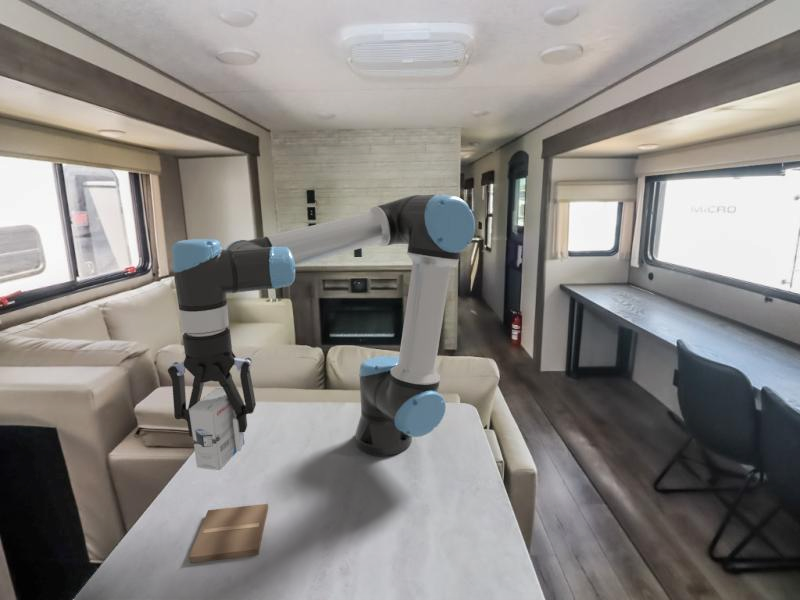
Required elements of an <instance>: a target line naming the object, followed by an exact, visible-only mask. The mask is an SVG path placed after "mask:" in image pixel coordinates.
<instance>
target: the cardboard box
mask: <svg viewBox="0 0 800 600" xmlns="http://www.w3.org/2000/svg"><path fill="white" fill-rule="evenodd" d="M268 511H269V504H268V503H261V504H252V505H251V504H250V505H246V506H245V505H244V506H235V507H225V508H216V509H208V510H207V512H206V515H205V516H204V519H203V521H202V524H201V527H200V529H199V530H198V533H197V536H196V539H195V541H194V543H193V546H192V548H191V551H190V554H189V556H188V561H189V563H190V564H192V563H198V562H199V563H201V562H209V561H216V560H223V559H232V558H241V557H247V556H249V557H250V556H257V555H259V553H260V548H261V544H262V540H263V534H264V530H265V526H266V521H267V516H268Z"/></svg>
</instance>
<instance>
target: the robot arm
mask: <svg viewBox="0 0 800 600" xmlns="http://www.w3.org/2000/svg"><path fill="white" fill-rule="evenodd" d="M475 220H476V219H475V216H474V213H473V210H472V209H471V208H470V206H469V204H468V203H467V202H466V201H465V199H462V198H461V197H458V196H455V195H449V194H442V193H440V194H423V195H421V194H415V195H410V196H406V197H403V198H399V199H397V200H393V201H389V202H387V203H384V204H383V203H382V204H379V205H375V206H373V207H371V208H370V210H369V211H368V212H366V213H361V214H356V215H353V216H348V217H344V218H339V219H336V220H331V221H325V222H322V223H318V224H314V225H313V224H312V225H309V226H305V227H300V228H295V229H292V230H288V231H283V232H279V233H275V234H271V235H267V236H262V237H257V238H254V239H249V240H247V239H239V240H236V241H235V240H234V241H233V242H231V243H229V244H228V245H227V247H226V248H225V249H223V248H222V246H221V242H220V241H219V240H218V239H215V238H195V239H193V238H190V239H183V240H179V241H176V242H175V243H173V245H172V246H171V257H172V260H171V261H172V271H173V278H174V279H173V280H174V284H175V291H176V297H177V304H178V311H179V312H178V313H179V320H180V328H181V331H182V332H183V335H182V341H183V342H182V343H183V351H184V354H185V355H184V357H185V358H184V360H183V361H181V362H178V361H177V362H176V361H175V362H173V363H172V364H171V365H170V366H169V367H168V368H167V373H168V376H169V377H170V380H171V382H172V385H171V386H172V398H173V399H172V400H173V413H174V415H173V416H174V418H175V419H176V420H182V419H183V420H185V421H186V422H187V427H188V428H187V429H188V434H189V437H191V438H193V435H192V428H191V421H190V414H189V409H190V408H191V407H192V406H194V405H195V404H196V403H198V402H199V401H200V400H201V399H202V398H201V397H202V393H203V389H204V384H205V383H208V382H215V383H216V382H218V384H219V386H221V388H223V389H224V391H225V393H226V395H227V397H228V399H229V401H230V403H231V405H232V407H233V409H234V411H235V415H234V417H233V427H234V435H235V444H236V451H237V452H241V450H242V449H243V446H244V445H243V443H244V442H245V440H244V441H243V434H244V433H245V432H246V430H247V427H248V419H247V415H249V414H253V413H254V410H255V408H256V405H257V404H256V397H255V391H254V388H253V381H252V376H251V365H252V359H251V358H250V357H246V358H245V359H244V358H239V357H237V356H236V355H235V354H234V352H233V346H232V338H231V337H232V336H231V330H230V328H229V325H230V322H229V321H230V319H229V311H228V310H229V309H228V303H227V302H228V301H227V295H228V294H236V293H245V292H253V291H263V290H264V291H265V290H272V289H273V290H277V289H280V288H286V287H290V286H292V284H293V283H294V282H295V278H296V266H301V265H303V264H307V263H310V262H314V261H318V260H323V259H325V258H330V257H333V256H337V255H340V254H341V255H342V254H345V253H348V252H352V251H355V250H360V249H363V248H367V247H370V246H374V245H378V246H380V247H387V246H390V245H391V246H392V245H398V244H399V245H407V253H406V255H408V257H409V258H410V259H411V261H412V266H411V272H410V280H409V287H408V293H407V294H408V295H407V299H406V300H407V301H406V308H405V313H404V322H403V328H402V336H401V342H400V348H399V349H400V350H399V355H398V356H396V355H381V356H374V357H371V358H368V359H365V360H364V361H362V362H361V364H360V365H359V375H358V376H359V383H360V384H359V388H360V389H359V392H360V408H361V409H360V411H361V413H360V418H359V421H358V424H357V427H356V431H355V444H356V446H357V447H358V449H359V450H360V451H362V452H364V453H366V454H369V455H373V456H381V457H385V456H387V457H388V456H393V455H397V454H399V453H401V452H403V451H406V449H408V448H409V447H410V446H411V444H412V441H413V437H414V438H419V437H423V436H427V435H428V434H430V433H432V431H434V429H435V428H437V427H438V426H439V425H440V423H442V420H443V419H444V416H445V413H446V408H447V407H446V400H445V399H444V397H443V395H442V394H441V393H439V388H440V382H441V381H440V380H441V377H440V374H439V373H438V371H436V366H437V365H436V364H437V357H438V353H439V352H438V351H439V345H440V338H441V334H442V332H441V331H442V326H443V321H444V320H443V319H444V313H445V308H446V302H447V294H448V288H449V282H450V276H451V270H452V269H451V268H452V267H453V266H454V265H456V264H457V263H458V262H459V261H460V256H461V252H462V251H464V250H465V249H466V248H467V247H468V245H469V244H471V243H472V241H473V239H474V236H475V232H476V221H475ZM233 366H235V367H236V370H237V372H239V373H240V374H239V378H240V383H241V388H242V393H243V398H242V397H241V395H240V392H239V389H238V388H237V386H236V384H235V382H234V380H233V376H232V373H231V369H232V368H233ZM186 370H187V371H188V372H189V373H190V374H191V375H192V376H193V382H192V390H191V393H190V398H189V403H188V408H187V400H186V399H187V398H186V382H185V381H186V379H185V373H186ZM237 389H238V390H237ZM244 444H245V443H244Z"/></svg>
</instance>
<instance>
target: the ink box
mask: <svg viewBox="0 0 800 600" xmlns="http://www.w3.org/2000/svg"><path fill="white" fill-rule="evenodd" d="M237 390H238V391H239V389H238V388H237ZM189 414H190V421H191V428H192V435H193V437H192V441H193V447H194V448H193V449H194V455H195V463H196V467H197V468H199V469H203V470H214V471H221V470H222V469H223V468H224V467H225V466H226V465H227V464H228V462H229V461H230V460H231V459H232V458H233V457H234V456H235V455H236V453H237V452H238V451H236V444H235V435H234V427H233V417H234V415H235V411H234V409H233V407H232V405H231V403H230V401H229V399H228V397H227V395H226V393H225V391H224V389H223V387H221V388H219V387H217V388H214V389H213V390H212V391H210V392H209V393H208V394H207V395H206V396H204V397H203V398H200V401H199V402H198V403H196V404H195V405H194V406H192V407H191V408H190V409H189ZM243 441H244V443H243V446H244V445H245V436H244V433H243Z"/></svg>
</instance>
